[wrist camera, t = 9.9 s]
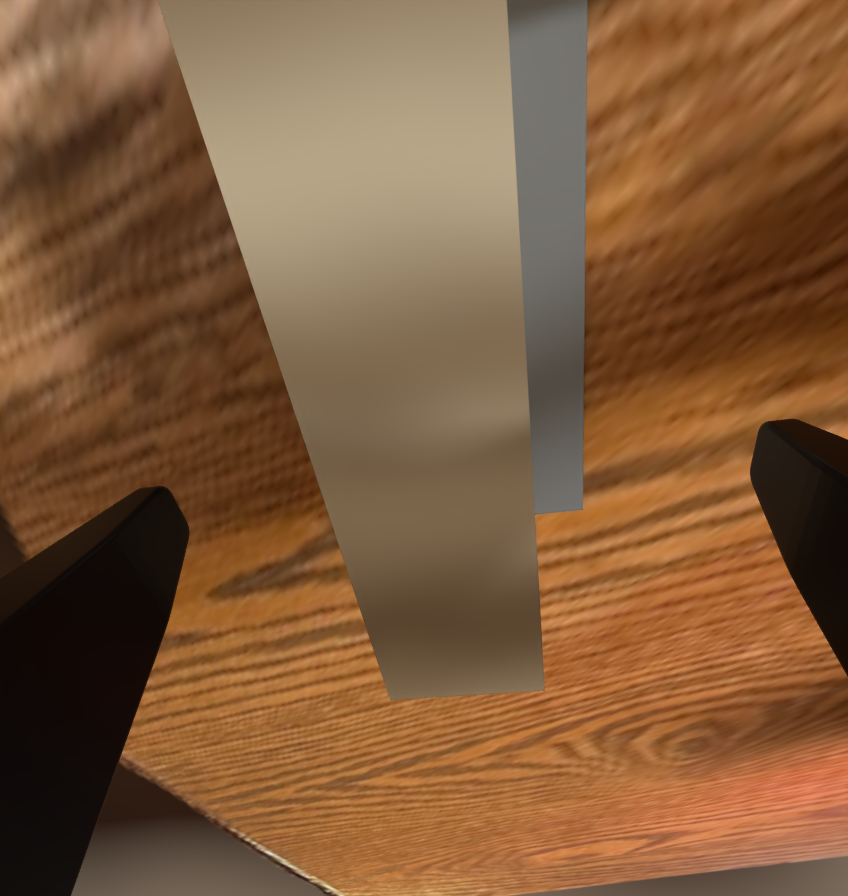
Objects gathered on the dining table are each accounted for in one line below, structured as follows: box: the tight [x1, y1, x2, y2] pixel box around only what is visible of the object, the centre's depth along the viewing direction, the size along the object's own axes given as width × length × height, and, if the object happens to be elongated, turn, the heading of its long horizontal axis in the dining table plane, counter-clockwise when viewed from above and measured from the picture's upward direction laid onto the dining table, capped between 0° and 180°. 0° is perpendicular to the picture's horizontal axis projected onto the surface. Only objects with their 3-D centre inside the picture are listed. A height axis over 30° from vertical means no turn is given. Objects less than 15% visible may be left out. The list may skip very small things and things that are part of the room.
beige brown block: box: [158, 0, 545, 700], centre depth 14 cm, size 16×4×10 cm, turn 9°
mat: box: [507, 0, 587, 514], centre depth 18 cm, size 22×10×1 cm, turn 9°
